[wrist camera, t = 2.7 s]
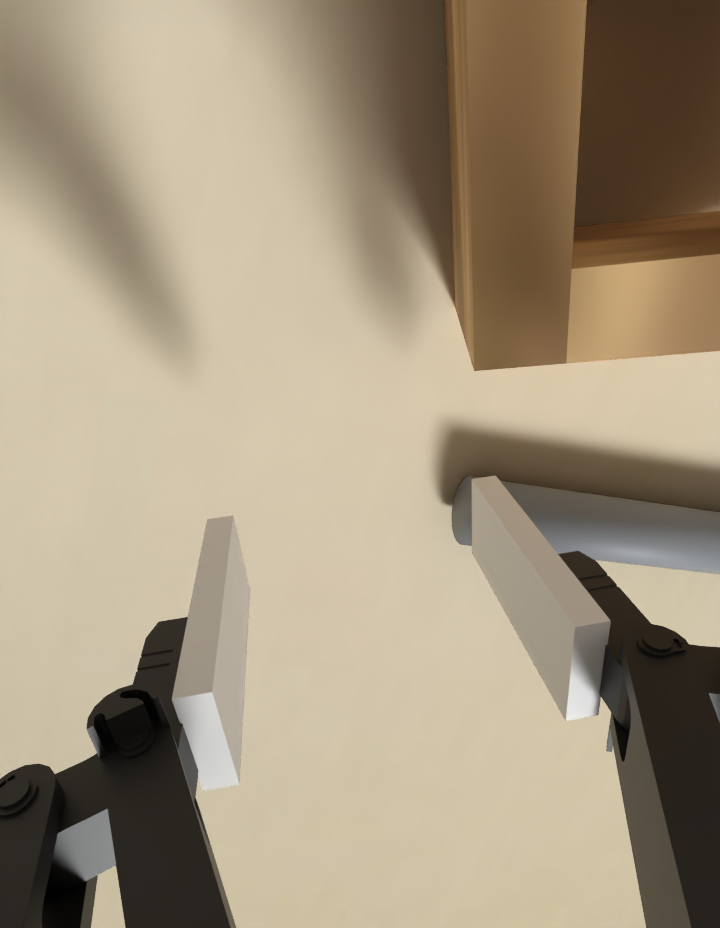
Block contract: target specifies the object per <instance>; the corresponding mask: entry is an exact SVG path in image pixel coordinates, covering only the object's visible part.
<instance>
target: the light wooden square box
mask: <svg viewBox="0 0 720 928" xmlns="http://www.w3.org/2000/svg"><path fill="white" fill-rule="evenodd" d="M586 7H587V0H444V10H445V37H446V65H447V92H448V119H449V147H450V174H451V201H452V229H453V256H454V283H455V308H456V312H457V315H458V318H459V322H460V325H461V328H462V332H463V335H464V338H465V342H466V345H467V348H468V352H469V355H470V358H471V362H472V365H473V368H474V371H478V370H491V369H503V368H515V367H527V366H539V365H551V364H564V363H576V362H588V361H600V360H612V359H625V358H637V357H649V356H661V355H673V354H686V353H698V352H710V351H720V211H716V212H707V213H698V214H689V215H680V216H671V217H662V218H653V219H644V220H635V221H626V222H617V223H607V224H598V225H589V226H580V227H574V218H575V200H576V183H577V165H578V148H579V130H580V112H581V95H582V77H583V60H584V42H585V25H586Z"/></svg>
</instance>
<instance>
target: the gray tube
mask: <svg viewBox="0 0 720 928" xmlns="http://www.w3.org/2000/svg"><path fill="white" fill-rule="evenodd" d="M475 478H478V477H471V476H468V477H466V478H464V479H463V480H462V482H461V483H460V485H459V486H458V489H457V491H456V494H455V497H454V501H453V507H452V529H453V533H454V537H455V539H456V540H457V542H458V543H459V544H461V545H469V546H472V479H475ZM500 482H501V483H502V484H503V485H504V487H505V488H506V489H507V490H508V492H509V493H510V494H511V496H512V497H513V498H514V499H515V501H516V502H517V503H518V504H519V506H520V507H521V508H522V509H523V511H524V512H525V513H526V514H527V516H528V517H529V518H530V520H531V521H532V522H533V523H534V525H535V526H536V527H537V528H538V530H539V531H540V532H541V533H542V535H543V536H544V537H545V538H546V540H547V541H548V542H549V544H550V545H551V546H552V547H553V549H554V550H555V551H556V552H557V554H561V553H567V552H573V551H580V552H581V553H583V554H585V555H587V556H588V557H590V558H592V559H593V560H600V561H608V562H617V563H626V564H634V565H643V566H652V567H661V568H669V569H678V570H687V571H695V572H704V573H713V574H720V512H715V511H708V510H701V509H694V508H687V507H680V506H673V505H666V504H659V503H652V502H645V501H638V500H631V499H624V498H617V497H610V496H603V495H596V494H589V493H582V492H575V491H568V490H561V489H554V488H547V487H540V486H533V485H526V484H520V483H513V482H506V481H500Z"/></svg>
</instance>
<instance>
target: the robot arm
mask: <svg viewBox="0 0 720 928" xmlns="http://www.w3.org/2000/svg"><path fill="white" fill-rule="evenodd" d="M472 553H473V555H474V557H475V559H476V561H477V562H478V564H479V566H480V568H481V570H482V571H483V573H484V575H485V577H486V579H487V580H488V582H489V584H490V586H491V588H492V589H493V591H494V593H495V595H496V597H497V598H498V600H499V602H500V604H501V606H502V607H503V609H504V611H505V613H506V615H507V616H508V618H509V620H510V622H511V624H512V625H513V627H514V629H515V631H516V632H517V634H518V636H519V638H520V640H521V641H522V643H523V645H524V647H525V649H526V650H527V652H528V654H529V656H530V658H531V659H532V661H533V663H534V665H535V667H536V668H537V670H538V672H539V674H540V676H541V677H542V679H543V681H544V683H545V685H546V686H547V688H548V690H549V692H550V694H551V695H552V697H553V699H554V701H555V703H556V704H557V706H558V708H559V710H560V712H561V713H562V715H563V717H564V719H565V721H569V720H574V719H579V718H585V717H590V716H595V715H598V713H599V706H600V698H601V697H602V699H603V700H604V702H605V703H606V705H607V706H608V708H609V709H610V711H611V719H610V726H609V733H608V739H607V750H606V751H609V752H612V748H613V747H614V753H615V758H616V764H617V769H618V775H619V780H620V786H621V791H622V796H623V802H624V807H625V813H626V818H627V824H628V829H629V835H630V840H631V846H632V851H633V857H634V862H635V868H636V873H637V879H638V884H639V890H640V895H641V901H642V906H643V912H644V917H645V923H646V928H720V647H707V646H696V645H690V644H688V643H687V641H686V640H685V639H684V638H683V637H681V636H680V635H679V634H677V633H676V632H674V631H672V630H670V629H668V628H665V627H663V626H658V625H653V624H651V623H650V622H649V621H648V620H647V619H646V617H645V616H644V615H643V614H642V613H641V612H640V611H639V609H638V608H637V607H636V606H635V605H634V604H633V603H632V602H631V600H630V599H629V598H628V597H627V596H626V595H625V594H624V592H623V591H622V590H621V589H620V588H619V587H617V586H616V583H615V582H614V581H613V580H612V579H611V578H610V577H609V576H607V573H606V572H605V571H604V570H603V569H602V567H601V566H600V565H599V564H598V563H597V562H596V561H595V560H593V559H592V558H590V557H588V556H587V555H585V554H583V553H581V552H580V551H573V552H567V553H561V554H557V552H556V551H555V550H554V549H553V547H552V546H551V545H550V544H549V542H548V541H547V540H546V538H545V537H544V536H543V535H542V533H541V532H540V531H539V530H538V528H537V527H536V526H535V525H534V523H533V522H532V521H531V520H530V518H529V517H528V516H527V514H526V513H525V512H524V511H523V509H522V508H521V507H520V506H519V504H518V503H517V502H516V501H515V499H514V498H513V497H512V496H511V494H510V493H509V492H508V490H507V489H506V488H505V487H504V485H503V484H502V483H501V482H500V480H499V479H498V478H497V477H496V475H495V476H488V477H482V478H475V479H472ZM249 598H250V587H249V583H248V578H247V574H246V569H245V565H244V561H243V556H242V552H241V548H240V543H239V539H238V534H237V530H236V526H235V521H234V517H233V516H227V517H220V518H214V519H207V523H206V528H205V533H204V538H203V543H202V548H201V553H200V559H199V564H198V569H197V574H196V579H195V584H194V589H193V594H192V599H191V604H190V609H189V614H188V617H185V618H179V619H173V620H167V621H161V622H158V623H157V625H156V626H155V627H154V629H153V630H152V631H151V632H150V634H149V635H148V636H147V637H146V640H145V643H144V647H143V651H142V654H141V656H142V658H140V661H139V665H138V668H137V669H138V672H136V675H135V679H134V682H133V685H130V686H126V687H123V688H120V689H118V690H116V691H114V692H112V693H111V694H109V695H107V696H106V697H104V698H103V699H102V700H101V701H100V702H99V703H98V704H97V705H96V706H95V707H94V709H93V711H92V712H91V714H90V716H89V717H88V722H87V731H88V733H89V736H90V738H91V740H92V742H93V744H94V747H95V749H96V751H97V754H95V755H94V756H92V757H90V758H89V759H87V760H85V761H83V762H81V763H79V764H77V765H74V766H72V767H70V768H68V769H66V770H63V771H61V772H59V773H57V774H54V772H53V771H52V770H51V768H50V767H48V766H45V765H42V764H32V765H25V766H23V767H20V768H18V769H16V770H13V771H11V772H9V773H8V774H6V775H5V776H4V777H2V778H1V779H0V928H91V921H92V914H93V906H94V899H95V891H96V884H97V876H98V874H100V873H102V872H104V871H106V870H108V869H110V868H112V867H113V866H115V865H116V867H117V874H118V880H119V887H120V893H121V900H122V906H123V913H124V920H125V926H126V928H236V926H235V923H234V919H233V916H232V913H231V910H230V906H229V903H228V900H227V897H226V894H225V890H224V887H223V884H222V881H221V877H220V874H219V871H218V868H217V864H216V861H215V858H214V855H213V851H212V848H211V845H210V842H209V838H208V835H207V832H206V829H205V825H204V822H203V819H202V816H201V812H200V809H199V806H198V803H197V801H196V798H195V795H196V787H197V779H198V778H199V780H200V783H201V786H202V789H203V791H206V790H211V789H216V788H222V787H227V786H232V785H237V784H239V781H240V763H241V744H242V726H243V708H244V690H245V671H246V653H247V635H248V617H249Z"/></svg>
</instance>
